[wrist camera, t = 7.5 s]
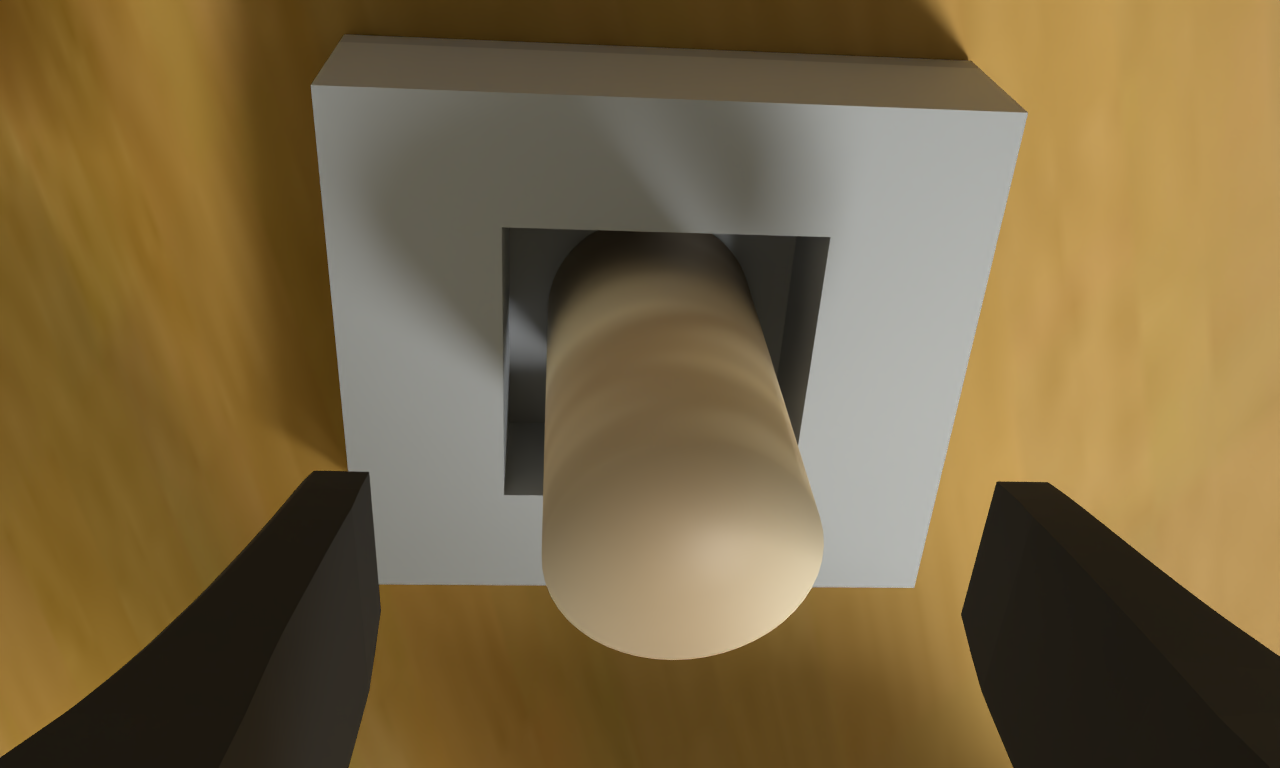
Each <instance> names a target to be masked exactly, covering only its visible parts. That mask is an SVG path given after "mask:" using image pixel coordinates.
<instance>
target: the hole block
mask: <svg viewBox="0 0 1280 768" xmlns="http://www.w3.org/2000/svg"><path fill="white" fill-rule="evenodd" d="M311 94H312V104H313V114H314V124H315V135H316V145H317V155H318V166H319V176H320V186H321V197H322V207H323V217H324V227H325V238H326V248H327V258H328V269H329V279H330V289H331V300H332V310H333V320H334V330H335V341H336V351H337V361H338V372H339V382H340V392H341V403H342V413H343V423H344V433H345V444H346V454H347V464H348V471H355V472H369V475H370V487H371V499H372V511H373V523H374V535H375V547H376V558H377V570H378V582H379V584H402V585H546V583H545V579H544V575H543V570H542V518H543V480H544V441H545V402H546V364H547V325H548V301H549V293H550V290H551V286H552V282H553V280H554V277H555V275H556V273H557V271H558V269H559V267H560V266H561V264H562V262H563V261H564V259H565V258H566V257H567V256H568V254H569V253H570V252H571V251H572V250H573V249H574V248H575V247H576V246H577V245H578V244H579V243H580V242H581V241H582V240H584V239H585V238H586V237H588V236H589V235H590V234H592V233H594V232H595V231H597V230H609V231H642V232H676V233H709V234H713V235H714V236H715V237H717V238H718V239H719V240H720V241H721V242H723V243H724V244H725V245H726V246H727V247H728V248H729V250H730V251H731V252H732V253H733V255H734V256H735V257H736V259H737V261H738V262H739V264H740V266H741V267H742V270H743V272H744V275H745V277H746V280H747V283H748V287H749V290H750V293H751V296H752V300H753V303H754V306H755V309H756V312H757V316H758V319H759V322H760V325H761V329H762V332H763V335H764V338H765V341H766V345H767V348H768V351H769V354H770V358H771V361H772V364H773V367H774V370H775V374H776V377H777V380H778V383H779V387H780V390H781V393H782V396H783V399H784V403H785V406H786V409H787V412H788V416H789V419H790V422H791V425H792V428H793V432H794V435H795V438H796V441H797V445H798V448H799V451H800V454H801V457H802V461H803V464H804V467H805V470H806V474H807V477H808V480H809V483H810V486H811V490H812V493H813V496H814V499H815V503H816V506H817V509H818V512H819V515H820V519H821V524H822V528H823V537H824V549H823V558H822V563H821V566H820V570H819V573H818V576H817V578H816V580H815V582H814V584H813V587H873V588H914V586H915V582H916V578H917V574H918V569H919V565H920V561H921V557H922V553H923V549H924V544H925V540H926V536H927V532H928V528H929V524H930V519H931V515H932V511H933V507H934V503H935V499H936V494H937V490H938V486H939V482H940V478H941V473H942V469H943V465H944V461H945V457H946V453H947V448H948V444H949V440H950V436H951V432H952V428H953V423H954V419H955V415H956V411H957V407H958V403H959V398H960V394H961V390H962V386H963V382H964V377H965V373H966V369H967V365H968V361H969V357H970V352H971V348H972V344H973V340H974V336H975V332H976V327H977V323H978V319H979V315H980V311H981V307H982V302H983V298H984V294H985V290H986V286H987V281H988V277H989V273H990V269H991V265H992V261H993V256H994V252H995V248H996V244H997V240H998V236H999V231H1000V227H1001V223H1002V219H1003V215H1004V211H1005V206H1006V202H1007V198H1008V194H1009V190H1010V185H1011V181H1012V177H1013V173H1014V169H1015V165H1016V160H1017V156H1018V152H1019V148H1020V144H1021V140H1022V135H1023V131H1024V127H1025V123H1026V119H1027V115H1028V112H1027V111H1025V110H1024V109H1023V108H1022V107H1021V106H1020V105H1019V104H1018V103H1017V102H1016V101H1014V100H1013V99H1012V98H1011V97H1010V96H1009V95H1008V94H1007V93H1006V92H1005V91H1004V90H1002V89H1001V88H1000V87H999V86H998V85H997V84H996V83H995V82H994V81H993V80H992V79H990V78H989V77H988V76H987V75H986V74H985V73H984V72H983V71H982V70H981V69H980V68H978V67H977V66H976V65H975V64H974V63H973V62H972V61H966V60H943V59H919V58H895V57H871V56H848V55H824V54H800V53H776V52H752V51H729V50H705V49H681V48H657V47H634V46H610V45H586V44H562V43H539V42H515V41H491V40H467V39H443V38H420V37H396V36H372V35H348V34H344V35H343V37H342V38H341V40H340V41H339V43H338V44H337V46H336V47H335V49H334V51H333V52H332V54H331V55H330V57H329V58H328V60H327V61H326V63H325V64H324V66H323V67H322V69H321V70H320V72H319V73H318V75H317V76H316V78H315V79H314V81H313V82H312V84H311Z"/></svg>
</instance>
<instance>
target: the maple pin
mask: <svg viewBox="0 0 1280 768" xmlns="http://www.w3.org/2000/svg"><path fill="white" fill-rule="evenodd" d="M823 549H824V537H823V528H822V524H821V519H820V515H819V512H818V509H817V506H816V503H815V499H814V496H813V493H812V490H811V486H810V483H809V480H808V477H807V474H806V470H805V467H804V464H803V461H802V457H801V454H800V451H799V448H798V445H797V441H796V438H795V435H794V432H793V428H792V425H791V422H790V419H789V416H788V412H787V409H786V406H785V403H784V399H783V396H782V393H781V390H780V387H779V383H778V380H777V377H776V374H775V370H774V367H773V364H772V361H771V358H770V354H769V351H768V348H767V345H766V341H765V338H764V335H763V332H762V329H761V325H760V322H759V319H758V316H757V312H756V309H755V306H754V303H753V300H752V296H751V293H750V290H749V287H748V283H747V280H746V277H745V275H744V272H743V270H742V267H741V266H740V264H739V262H738V261H737V259H736V257H735V256H734V255H733V253H732V252H731V251H730V250H729V248H728V247H727V246H726V245H725V244H724V243H723V242H721V241H720V240H719V239H718V238H717V237H715V236H714V235H713V234H709V233H676V232H642V231H609V230H597V231H595V232H594V233H592V234H590V235H589V236H588V237H586V238H585V239H584V240H582V241H581V242H580V243H579V244H578V245H577V246H576V247H575V248H574V249H573V250H572V251H571V252H570V253H569V254H568V256H567V257H566V258H565V259H564V261H563V262H562V264H561V266H560V267H559V269H558V271H557V273H556V275H555V277H554V280H553V282H552V286H551V290H550V293H549V301H548V325H547V364H546V402H545V441H544V480H543V518H542V570H543V575H544V579H545V583H546V586H547V588H548V591H549V593H550V596H551V597H552V599H553V601H554V602H555V604H556V606H557V607H558V609H559V610H560V611H561V612H562V614H563V615H564V616H565V617H566V618H567V620H568V621H569V622H571V623H572V624H573V625H574V626H575V627H576V628H577V629H578V630H580V631H581V632H583V633H584V634H586V635H587V636H588V637H590V638H591V639H593V640H595V641H597V642H599V643H601V644H603V645H605V646H607V647H609V648H612V649H615V650H617V651H620V652H623V653H627V654H631V655H634V656H639V657H645V658H651V659H664V660H683V659H695V658H702V657H708V656H712V655H717V654H721V653H725V652H728V651H730V650H733V649H736V648H739V647H742V646H744V645H746V644H748V643H750V642H753V641H755V640H757V639H758V638H760V637H762V636H764V635H765V634H767V633H769V632H770V631H772V630H773V629H774V628H776V627H777V626H778V625H780V624H781V623H782V622H784V621H785V620H786V619H787V618H788V617H789V616H790V615H791V614H792V613H793V612H794V611H795V610H796V609H797V608H798V606H799V605H800V604H801V603H802V602H803V601H804V599H805V598H806V596H807V595H808V593H809V591H810V590H811V588H812V587H813V584H814V582H815V580H816V578H817V576H818V573H819V570H820V566H821V563H822V558H823Z"/></svg>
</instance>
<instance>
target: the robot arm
mask: <svg viewBox="0 0 1280 768" xmlns="http://www.w3.org/2000/svg"><path fill="white" fill-rule="evenodd" d="M380 613H381V606H380V594H379V582H378V570H377V558H376V547H375V535H374V523H373V511H372V499H371V487H370V475H369V472H355V471H313V472H312V473H311V474H310V475H309V476H308V477H307V478H305V479H304V481H303V482H302V483H301V484H300V485H299V486H298V488H297V489H296V490H295V491H294V492H293V494H292V495H291V496H290V497H289V498H288V499H287V501H286V502H285V503H284V504H283V505H282V507H281V508H280V509H279V510H278V511H277V512H276V514H275V515H274V516H273V517H272V518H271V519H270V520H269V522H268V523H267V524H266V525H265V526H264V527H263V528H262V530H261V531H260V532H259V533H258V534H257V535H256V536H255V537H254V539H253V540H252V541H251V542H250V543H249V544H248V545H247V546H246V548H245V549H244V550H243V551H242V552H241V553H240V554H239V555H238V556H237V557H236V558H235V559H234V560H233V561H232V562H231V563H230V564H229V566H228V567H227V568H226V569H225V570H224V571H223V572H222V573H221V574H220V575H219V576H218V577H217V578H216V579H215V580H214V581H213V583H212V584H211V585H210V586H209V587H208V588H207V589H206V590H205V591H204V592H203V593H202V594H201V595H200V596H199V597H198V598H197V599H196V600H195V601H194V602H193V603H192V604H191V605H189V606H188V607H187V608H186V609H185V610H184V611H183V612H182V613H181V614H180V615H179V616H178V617H177V618H176V619H175V620H174V621H173V622H172V623H171V624H169V625H168V626H167V627H166V628H165V629H164V630H163V631H162V632H161V633H160V634H159V635H158V636H157V637H156V638H155V639H154V640H153V641H152V642H151V643H149V644H148V645H147V646H146V647H145V648H144V649H143V650H142V651H140V652H139V653H138V654H137V655H136V656H135V657H134V658H132V659H131V660H130V661H129V662H128V663H127V664H125V665H124V666H123V667H122V668H121V669H120V670H118V671H117V672H116V673H115V674H114V675H112V676H111V677H110V678H109V679H108V680H106V681H105V682H104V683H103V684H101V685H100V686H99V687H98V688H96V689H95V690H94V691H93V692H91V693H90V694H89V695H88V696H86V697H85V698H84V699H83V700H81V701H80V702H79V703H78V704H76V705H75V706H74V707H72V708H71V709H70V710H68V711H67V712H66V713H64V714H63V715H61V716H60V717H58V718H57V719H56V720H54V721H53V722H51V723H50V724H48V725H47V726H45V727H44V728H42V729H41V730H40V731H38V732H37V733H35V734H34V735H32V736H31V737H29V738H28V739H27V740H25V741H24V742H22V743H21V744H19V745H18V746H16V747H15V748H13V749H12V750H11V751H9V752H8V753H6V754H5V755H3V756H2V757H0V768H348V767H349V763H350V760H351V756H352V753H353V749H354V745H355V742H356V738H357V734H358V730H359V727H360V723H361V719H362V716H363V712H364V708H365V704H366V701H367V697H368V693H369V688H370V682H371V675H372V669H373V662H374V656H375V649H376V642H377V634H378V627H379V620H380ZM961 616H962V620H963V624H964V628H965V632H966V636H967V640H968V644H969V647H970V651H971V655H972V659H973V663H974V666H975V670H976V673H977V677H978V680H979V684H980V687H981V690H982V693H983V696H984V698H985V701H986V703H987V706H988V708H989V711H990V713H991V716H992V718H993V720H994V723H995V725H996V727H997V730H998V732H999V735H1000V737H1001V739H1002V742H1003V744H1004V747H1005V749H1006V751H1007V754H1008V756H1009V758H1010V761H1011V763H1012V765H1013V768H1280V656H1278V655H1277V654H1275V653H1274V652H1272V651H1271V650H1270V649H1268V648H1267V647H1265V646H1264V645H1262V644H1261V643H1260V642H1258V641H1257V640H1255V639H1254V638H1252V637H1251V636H1250V635H1248V634H1247V633H1245V632H1244V631H1242V630H1241V629H1240V628H1238V627H1237V626H1235V625H1234V624H1232V623H1231V622H1230V621H1228V620H1227V619H1225V618H1224V617H1223V616H1221V615H1220V614H1218V613H1217V612H1216V611H1214V610H1213V609H1212V608H1210V607H1209V606H1208V605H1206V604H1205V603H1204V602H1202V601H1201V600H1199V599H1198V598H1197V597H1195V596H1194V595H1193V594H1192V593H1190V592H1189V591H1188V590H1186V589H1185V588H1184V587H1182V586H1181V585H1180V584H1178V583H1177V582H1176V581H1175V580H1173V579H1172V578H1171V577H1169V576H1168V575H1167V574H1165V573H1164V572H1163V571H1162V570H1160V569H1159V568H1158V567H1156V566H1155V565H1154V564H1153V563H1151V562H1150V561H1149V560H1148V559H1146V558H1145V557H1144V556H1143V555H1141V554H1140V553H1139V552H1137V551H1136V550H1135V549H1134V548H1132V547H1131V546H1130V545H1129V544H1127V543H1126V542H1125V541H1124V540H1122V539H1121V538H1120V537H1119V536H1117V535H1116V534H1115V533H1114V532H1112V531H1111V530H1110V529H1109V528H1107V527H1106V526H1105V525H1104V524H1102V523H1101V522H1100V521H1099V520H1097V519H1096V518H1095V517H1094V516H1092V515H1091V514H1090V513H1089V512H1087V511H1086V510H1085V509H1083V508H1082V507H1081V506H1080V505H1078V504H1077V503H1076V502H1074V501H1073V500H1072V499H1070V498H1069V497H1068V496H1066V495H1065V494H1064V493H1062V492H1061V491H1060V490H1058V489H1057V488H1055V487H1054V486H1052V485H1051V484H1050V483H1048V482H997V483H996V486H995V490H994V494H993V498H992V501H991V505H990V509H989V512H988V516H987V520H986V524H985V527H984V531H983V535H982V539H981V542H980V546H979V550H978V553H977V557H976V561H975V565H974V568H973V572H972V576H971V580H970V583H969V587H968V591H967V594H966V598H965V602H964V606H963V609H962V613H961Z"/></svg>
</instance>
